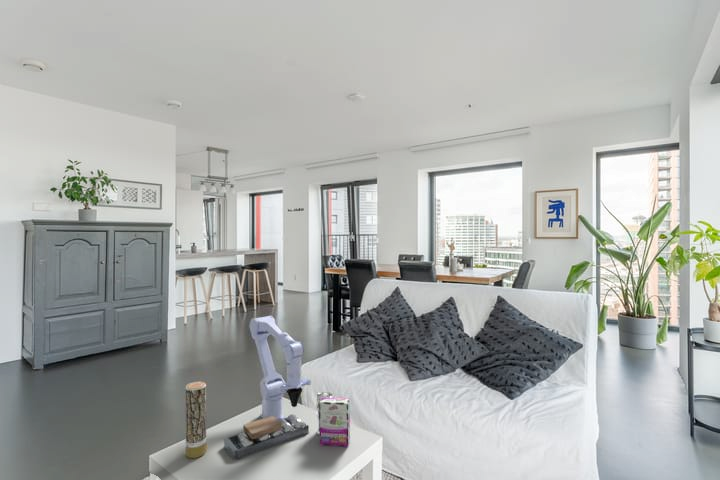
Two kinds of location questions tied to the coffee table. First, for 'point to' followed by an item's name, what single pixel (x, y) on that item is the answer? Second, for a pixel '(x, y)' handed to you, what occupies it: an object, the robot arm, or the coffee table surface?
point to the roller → (243, 440)
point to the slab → (262, 427)
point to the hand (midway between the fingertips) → (294, 405)
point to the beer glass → (318, 399)
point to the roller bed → (268, 437)
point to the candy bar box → (334, 421)
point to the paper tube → (195, 419)
